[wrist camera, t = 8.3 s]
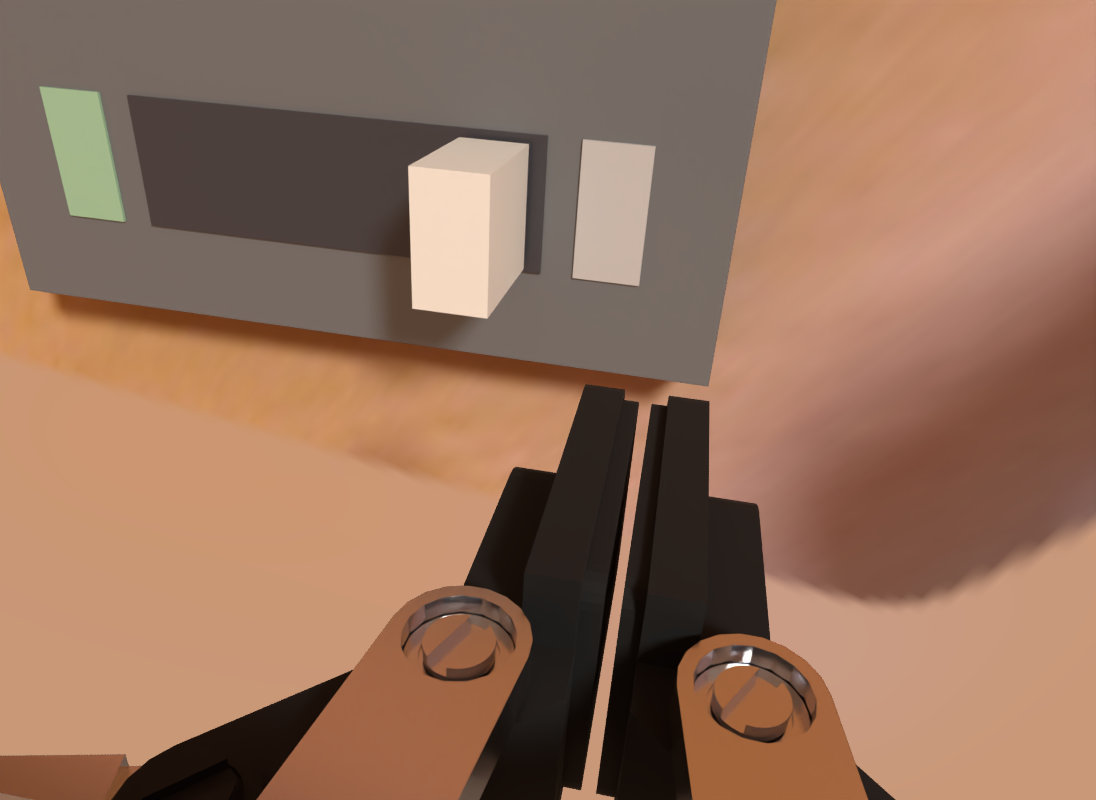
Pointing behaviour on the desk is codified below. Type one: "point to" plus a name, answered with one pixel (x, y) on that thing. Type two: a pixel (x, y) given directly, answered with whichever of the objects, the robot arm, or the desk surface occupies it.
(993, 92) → the desk surface
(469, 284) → the block
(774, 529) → the desk surface
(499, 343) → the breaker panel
